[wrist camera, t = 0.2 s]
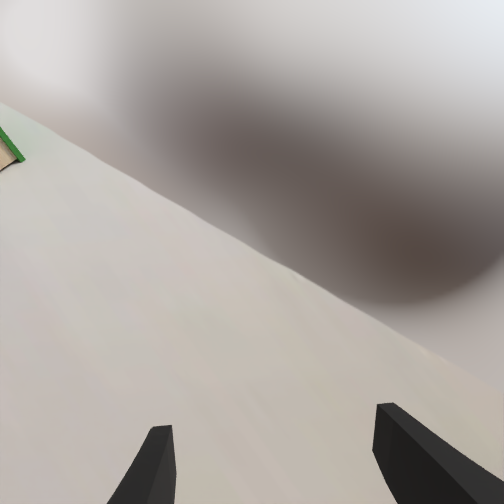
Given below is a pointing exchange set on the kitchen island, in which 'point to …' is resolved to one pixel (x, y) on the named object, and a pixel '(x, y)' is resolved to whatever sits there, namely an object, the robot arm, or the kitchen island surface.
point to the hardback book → (8, 151)
